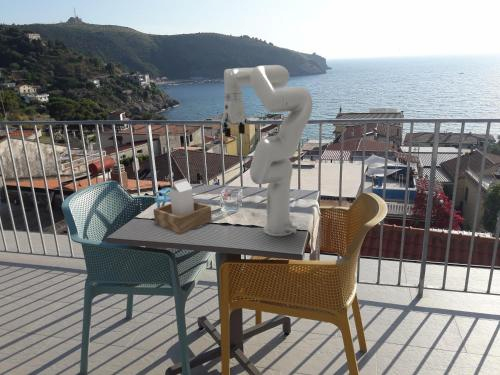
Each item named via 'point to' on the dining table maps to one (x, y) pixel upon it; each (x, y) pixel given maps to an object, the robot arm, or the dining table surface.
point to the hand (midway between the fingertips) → (235, 135)
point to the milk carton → (181, 198)
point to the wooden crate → (182, 218)
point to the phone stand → (162, 197)
